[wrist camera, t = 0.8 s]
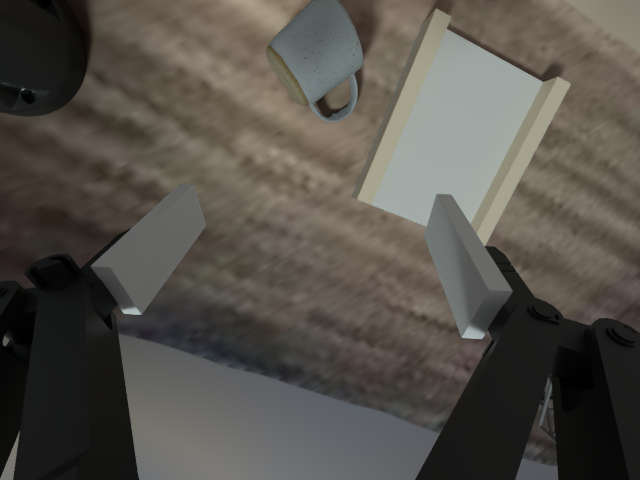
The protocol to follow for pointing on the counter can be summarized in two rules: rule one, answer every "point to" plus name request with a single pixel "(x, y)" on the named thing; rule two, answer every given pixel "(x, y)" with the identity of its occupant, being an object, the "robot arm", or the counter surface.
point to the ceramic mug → (318, 55)
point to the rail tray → (457, 130)
